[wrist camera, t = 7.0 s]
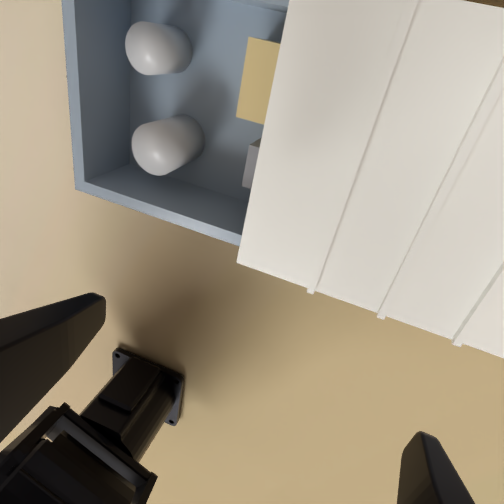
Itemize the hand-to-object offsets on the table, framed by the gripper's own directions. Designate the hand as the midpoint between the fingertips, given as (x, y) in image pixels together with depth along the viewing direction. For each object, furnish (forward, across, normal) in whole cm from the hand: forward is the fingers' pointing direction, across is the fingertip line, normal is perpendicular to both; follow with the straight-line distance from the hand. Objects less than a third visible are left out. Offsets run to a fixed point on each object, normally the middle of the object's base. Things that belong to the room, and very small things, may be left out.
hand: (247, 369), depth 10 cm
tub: (+12, +6, -4) cm, 13 cm away
